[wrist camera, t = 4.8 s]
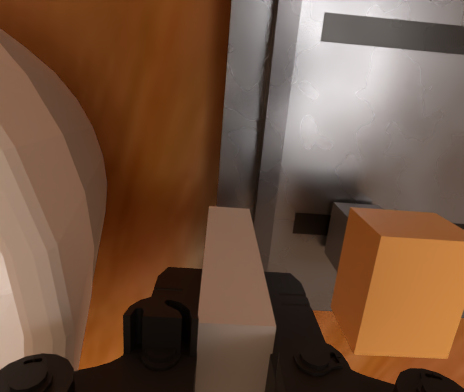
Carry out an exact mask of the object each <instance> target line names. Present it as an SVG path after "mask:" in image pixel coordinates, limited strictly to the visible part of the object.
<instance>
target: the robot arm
mask: <svg viewBox="0 0 464 392" xmlns="http://www.w3.org/2000/svg"><path fill="white" fill-rule="evenodd" d="M123 336H124V354H123V356H121V357H120V358H118V359H116V360H114V361H112V362H110V363H107V364H104V365H100V366H96V367H92V368H87V369H82V370H77V371H74V368H73V367H72V365H71V364H70V362H69V360H68V359H66V358H64V357H62V356H59V355H57V354H45V353H41V354H36V355H31V356H26V357H23V358H21V359H19V360H16V361H14V362H11V363H9V364H8V365H6V366H5V367H3V368H2V369H1V370H0V392H464V389H463V388H462V387H461V386H460V385H458V384H457V383H456V382H454V381H453V380H451V379H449V378H447V377H445V376H443V375H441V374H439V373H436V372H433V371H429V370H426V369H416V368H410V369H407V370H405V371H403V372H400V374H399V376H398V378H397V380H396V383H395V385H394V384H391V383H388V382H384V381H381V380H378V379H374V378H371V377H367V376H365V375H362V374H360V373H357V372H355V371H353V370H351V369H350V366H349V364H348V362H347V361H346V360H345V358H344V357H343V355H342V354H341V353H340V352H339V351H338V350H336V349H335V348H334V347H332V346H331V345H329V344H327V343H326V342H325V340H324V338H323V335H322V333H321V330H320V328H319V325H318V323H317V320H316V318H315V315H314V313H313V310H312V308H311V307H310V303H309V301H308V298H307V297H306V293H305V291H304V288H303V286H302V283H301V282H300V281H299V280H297V279H296V278H295V277H294V276H293V275H292V274H291V273H281V272H265V271H264V270H263V266H262V262H261V257H260V253H259V249H258V244H257V240H256V235H255V231H254V227H253V222H252V218H251V214H250V209H244V208H230V207H215V206H209V211H208V221H207V231H206V240H205V250H204V260H203V269H193V268H176V267H168V268H167V269H166V270H165V271H164V272H162V273H161V274H160V275H159V276H158V278H157V281H156V284H155V287H154V290H153V293H152V296H151V297H149V298H146V299H142V300H140V301H138V302H136V303H135V304H133V305H132V306H130V307H129V308H128V310H127V311H126V312H125V314H124V315H123Z"/></svg>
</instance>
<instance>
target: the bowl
mask: <svg viewBox="0 0 464 392" xmlns="http://www.w3.org/2000/svg"><path fill="white" fill-rule="evenodd" d="M106 198H107V178H106V171H105V165H104V158H103V154H102V151H101V148H100V145H99V142H98V140H97V137H96V134H95V131H94V128H93V126H92V124H91V123H90V121H89V119H88V117H87V116H86V114H85V112H84V110H83V109H82V107H81V105H80V103H79V102H78V100H77V98H76V97H75V96H74V95H73V94H72V92H71V91H70V90H69V89H68V88H67V86H66V85H65V84H64V83H63V82H62V80H61V79H60V78H59V77H58V76H57V74H56V73H55V72H54V71H53V70H52V69H50V68H49V67H48V66H47V65H46V64H45V63H43V62H42V61H41V60H40V59H39V58H38V57H36V56H35V55H34V54H33V53H32V52H31V51H29V50H28V49H27V48H26V47H25V46H23V45H22V44H21V43H19V42H18V41H17V40H15V39H14V38H13V37H11V36H10V35H9V34H7V33H6V32H5V31H3V30H2V29H0V370H1V369H2V368H3V367H5V366H6V365H8V364H9V363H11V362H14V361H16V360H19V359H21V358H23V357H26V356H31V355H36V354H41V353H45V354H57V355H59V356H62V357H64V358H66V359H68V360H69V362H70V364H71V365H72V367H73V368H74V371H77V370H78V367H79V361H80V356H81V350H82V345H83V339H84V334H85V328H86V323H87V317H88V312H89V306H90V301H91V295H92V283H93V277H94V272H95V266H96V261H97V256H98V250H99V245H100V240H101V234H102V229H103V223H104V218H105V213H106Z"/></svg>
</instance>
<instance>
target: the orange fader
mask: <svg viewBox="0 0 464 392" xmlns="http://www.w3.org/2000/svg"><path fill="white" fill-rule="evenodd" d="M324 253H325V254H326V256H327V257H328V259H329V261H330V262H331V264H332V265H333V267H334V269H335V270H336V272H337V277H336V282H335V287H334V292H333V297H332V302H331V309H332V311H333V313H334V315H335V317H336V319H337V321H338V323H339V325H340V327H341V329H342V331H343V333H344V335H345V338H346V340H347V342H348V344H349V346H350V348H351V350H352V352H353V354H354V355H375V356H397V357H418V358H440V359H447V358H448V355H449V352H450V349H451V346H452V343H453V340H454V337H455V334H456V331H457V328H458V325H459V322H460V319H461V316H462V313H463V310H464V230H463V229H461V228H460V227H458V226H456V225H455V224H453V223H451V222H450V221H448V220H446V219H445V218H443V217H441V216H439V215H438V214H436V213H429V212H415V211H400V210H386V209H383V208H381V207H380V206H379V205H368V204H354V203H340V202H333V206H332V212H331V218H330V223H329V229H328V234H327V240H326V245H325V251H324Z"/></svg>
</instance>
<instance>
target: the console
mask: <svg viewBox="0 0 464 392" xmlns="http://www.w3.org/2000/svg"><path fill="white" fill-rule="evenodd" d="M333 202H340V203H354V204H368V205H379V206H380V207H381V208H383V209H386V210H400V211H415V212H429V213H436V214H438V215H439V216H441V217H443V218H445V219H446V220H448V221H450V222H451V223H453V224H455V225H456V226H458V227H460V228H461V229H463V230H464V0H231V11H230V25H229V38H228V52H227V66H226V80H225V93H224V107H223V121H222V135H221V148H220V162H219V176H218V190H217V204H216V207H230V208H244V209H250V214H251V218H252V222H253V227H254V231H255V235H256V240H257V244H258V249H259V253H260V257H261V262H262V266H263V270H264V271H265V272H281V273H291V274H292V275H293V276H294V277H295V278H296V279H297V280H299V281H300V282H301V283H302V286H303V288H304V291H305V293H306V297H307V298H308V301H309V303H310V307H311V308H312V310H320V311H332V309H331V302H332V297H333V292H334V287H335V282H336V277H337V272H336V270H335V269H334V267H333V265H332V264H331V262H330V261H329V259H328V257H327V256H326V254H325V253H324V251H325V245H326V240H327V234H328V229H329V223H330V218H331V212H332V206H333ZM461 318H464V310H463V313H462V316H461Z"/></svg>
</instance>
